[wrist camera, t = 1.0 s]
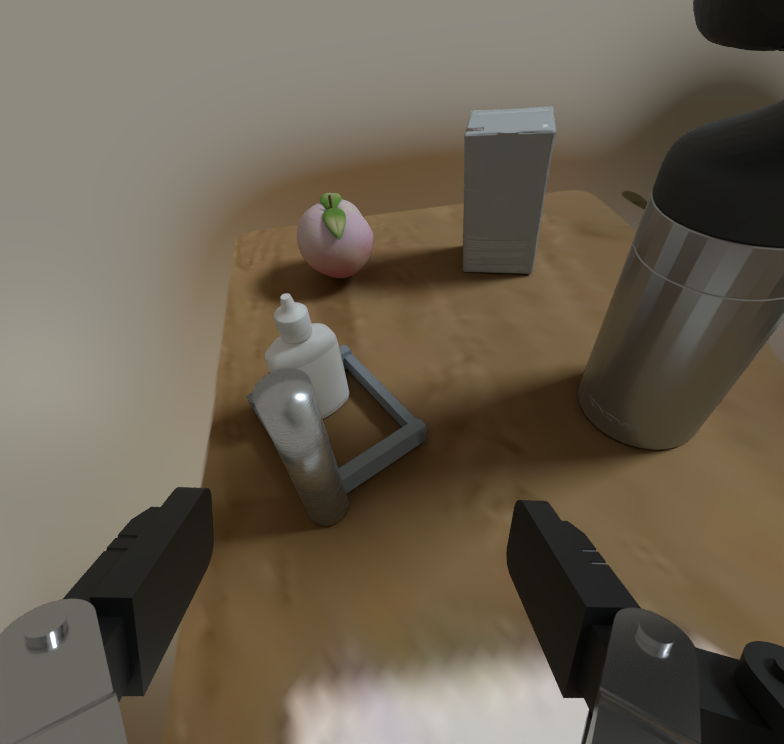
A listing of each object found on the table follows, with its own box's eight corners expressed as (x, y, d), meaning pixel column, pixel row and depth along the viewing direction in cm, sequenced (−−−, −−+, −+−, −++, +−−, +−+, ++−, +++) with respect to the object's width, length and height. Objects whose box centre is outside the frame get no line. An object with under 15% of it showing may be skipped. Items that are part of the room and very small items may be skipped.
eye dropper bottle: (352, 420, 37) (326, 310, 28) (287, 429, 36) (240, 322, 28) (349, 383, 40) (325, 273, 31) (289, 391, 39) (248, 283, 31)
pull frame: (348, 359, 41) (323, 237, 32) (438, 452, 33) (440, 326, 24) (246, 414, 37) (182, 294, 28) (320, 534, 30) (267, 423, 20)
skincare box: (532, 247, 53) (558, 102, 42) (531, 280, 48) (562, 127, 37) (463, 244, 55) (471, 104, 43) (457, 275, 50) (464, 128, 39)
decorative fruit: (300, 265, 54) (280, 187, 47) (362, 250, 56) (351, 171, 48) (317, 307, 48) (296, 224, 41) (385, 288, 49) (377, 205, 42)
